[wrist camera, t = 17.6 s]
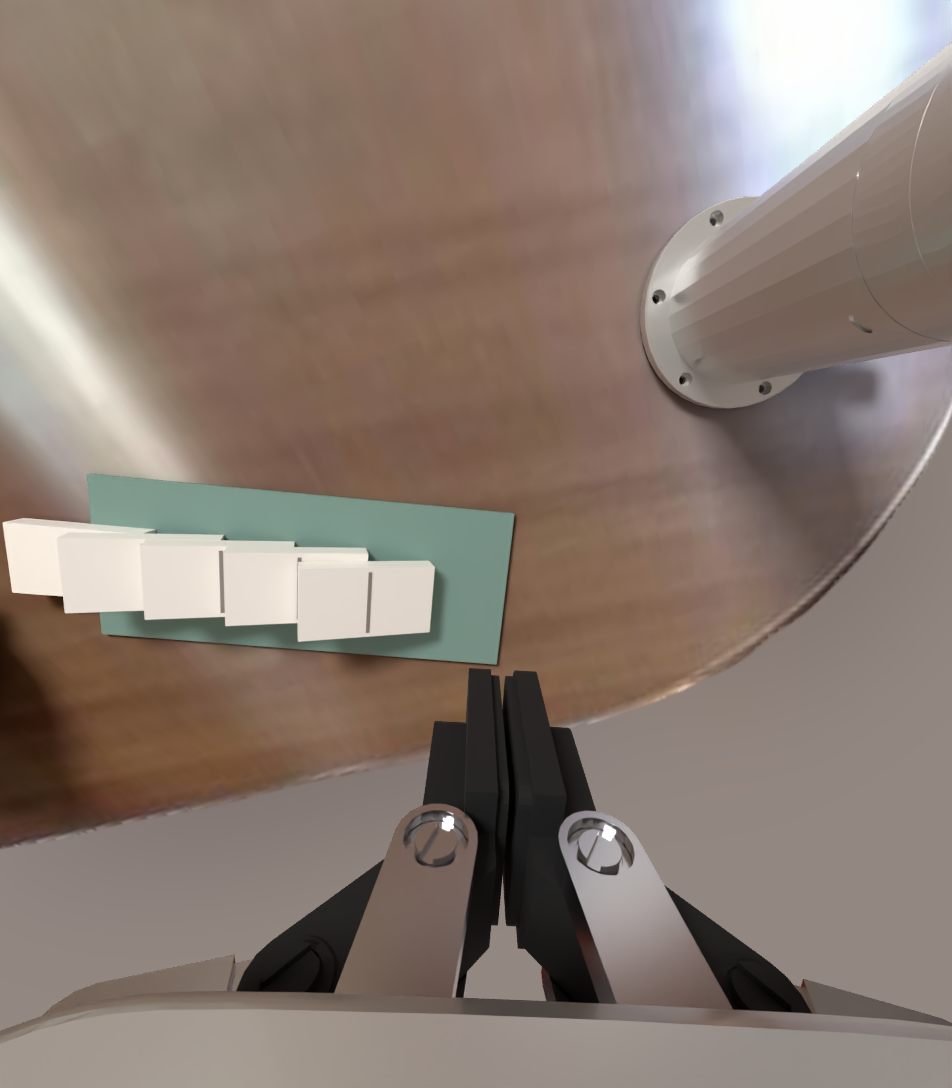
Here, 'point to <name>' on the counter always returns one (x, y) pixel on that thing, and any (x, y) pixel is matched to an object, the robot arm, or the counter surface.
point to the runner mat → (327, 521)
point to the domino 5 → (363, 598)
